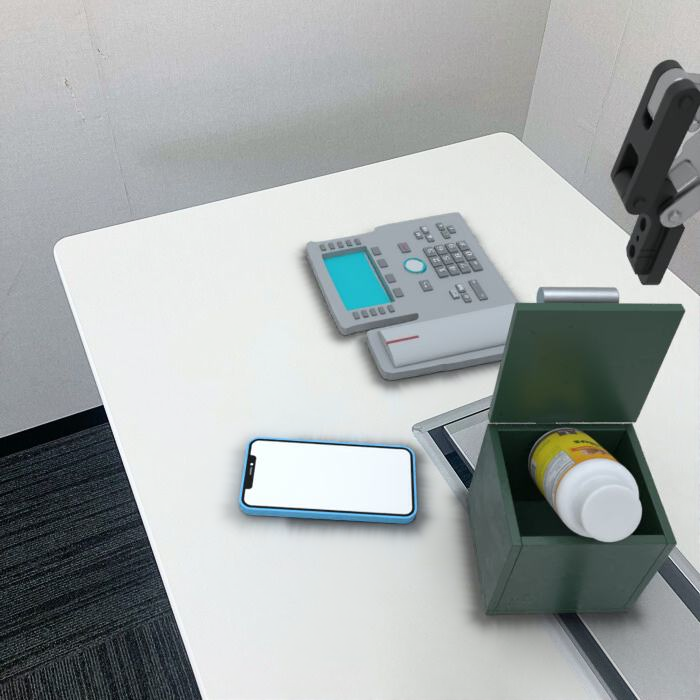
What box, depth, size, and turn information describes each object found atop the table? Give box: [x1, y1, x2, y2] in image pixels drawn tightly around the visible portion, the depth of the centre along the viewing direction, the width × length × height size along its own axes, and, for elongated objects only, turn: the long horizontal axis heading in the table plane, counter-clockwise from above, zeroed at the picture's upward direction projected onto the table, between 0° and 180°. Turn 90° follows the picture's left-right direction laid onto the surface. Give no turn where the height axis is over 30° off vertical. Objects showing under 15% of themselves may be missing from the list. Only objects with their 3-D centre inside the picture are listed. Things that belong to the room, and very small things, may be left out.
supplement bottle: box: [528, 428, 642, 542], centre depth 53 cm, size 6×6×10 cm
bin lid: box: [487, 286, 686, 424], centre depth 56 cm, size 11×11×5 cm
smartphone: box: [238, 436, 418, 524], centre depth 66 cm, size 8×1×15 cm
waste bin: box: [465, 423, 678, 615], centre depth 58 cm, size 10×11×11 cm
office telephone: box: [305, 211, 520, 381], centre depth 83 cm, size 23×3×20 cm
